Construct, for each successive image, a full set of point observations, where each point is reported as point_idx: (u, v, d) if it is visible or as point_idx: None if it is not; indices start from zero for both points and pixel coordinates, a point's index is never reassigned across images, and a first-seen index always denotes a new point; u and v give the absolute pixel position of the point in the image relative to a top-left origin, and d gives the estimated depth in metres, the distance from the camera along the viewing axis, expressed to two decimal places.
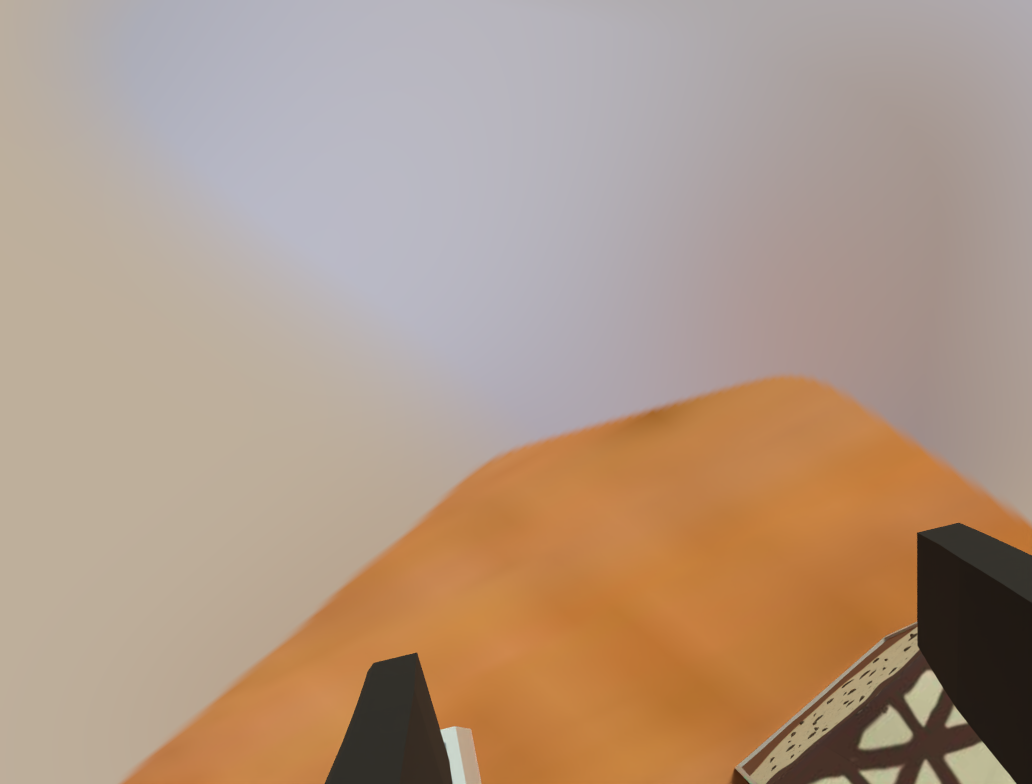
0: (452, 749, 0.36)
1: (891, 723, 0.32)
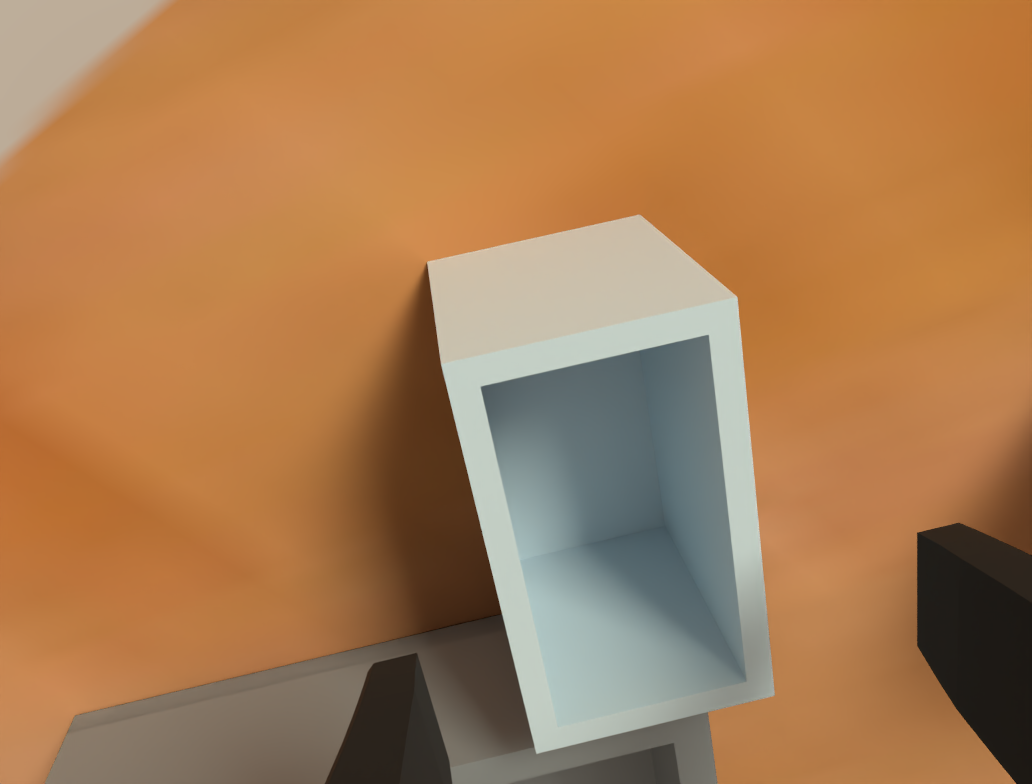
0: (724, 350, 0.14)
1: None
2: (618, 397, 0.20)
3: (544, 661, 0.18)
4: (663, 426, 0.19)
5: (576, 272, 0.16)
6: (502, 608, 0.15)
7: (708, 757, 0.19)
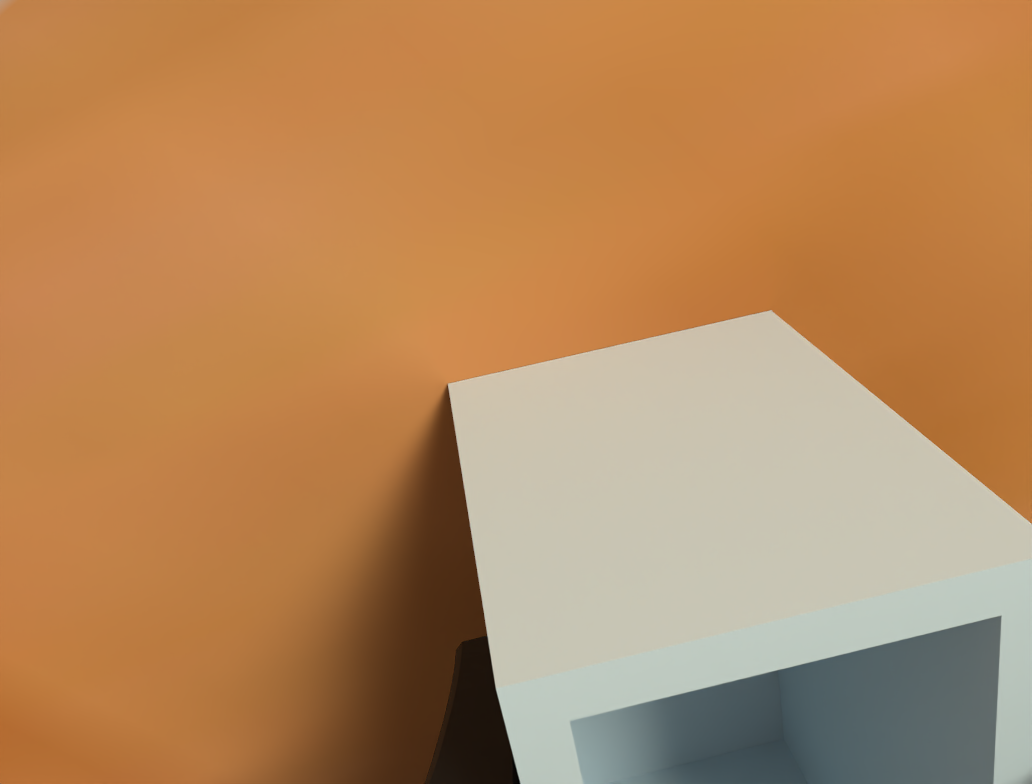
0: (1025, 639, 0.07)
1: None
2: None
3: None
4: None
5: (706, 441, 0.10)
6: None
7: None
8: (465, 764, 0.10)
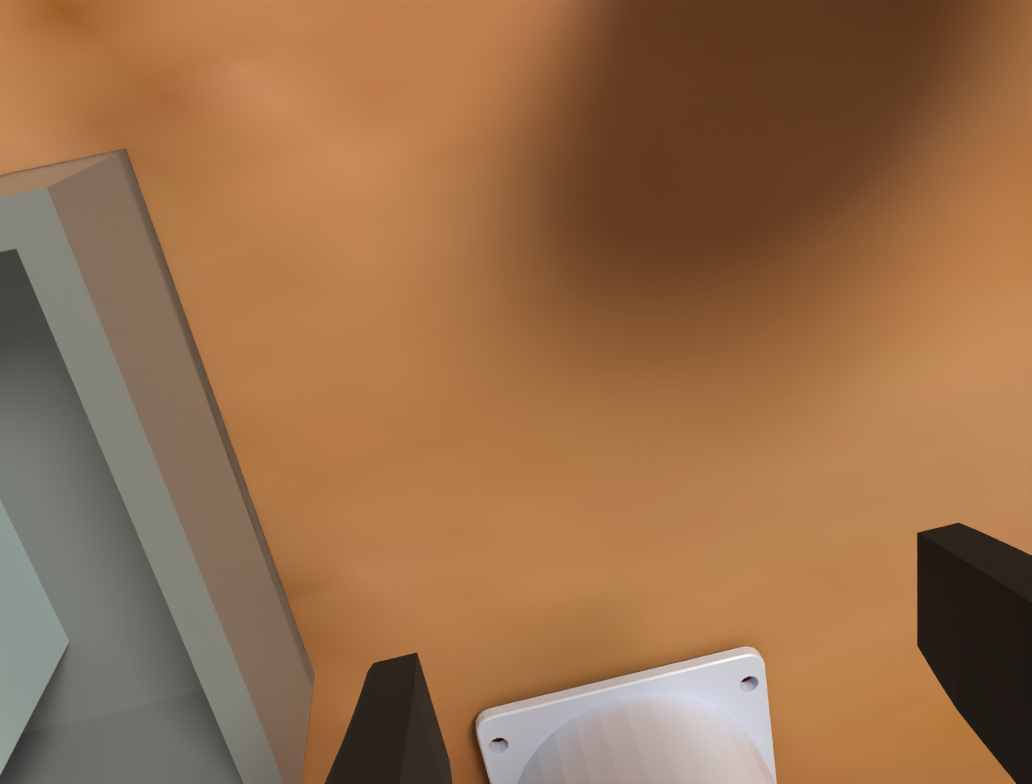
0: None
1: None
2: None
3: None
4: None
5: None
6: None
7: (76, 278, 0.15)
8: None
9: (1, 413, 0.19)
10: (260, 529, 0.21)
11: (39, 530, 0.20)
